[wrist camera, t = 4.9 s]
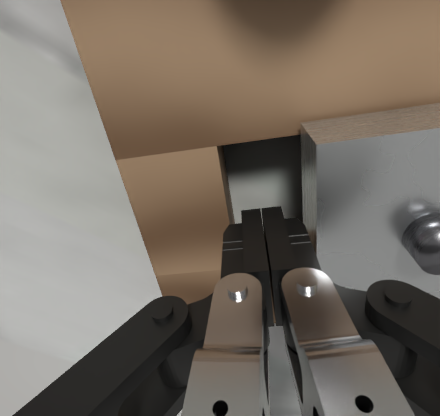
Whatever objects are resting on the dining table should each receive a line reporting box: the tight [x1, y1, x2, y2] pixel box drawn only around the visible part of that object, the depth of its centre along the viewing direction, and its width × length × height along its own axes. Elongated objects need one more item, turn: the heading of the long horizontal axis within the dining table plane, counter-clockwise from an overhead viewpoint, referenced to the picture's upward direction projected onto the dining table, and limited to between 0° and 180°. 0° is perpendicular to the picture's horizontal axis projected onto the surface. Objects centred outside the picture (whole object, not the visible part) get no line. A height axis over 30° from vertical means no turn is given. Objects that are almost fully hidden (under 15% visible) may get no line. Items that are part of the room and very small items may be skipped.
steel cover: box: [300, 103, 440, 299], centre depth 10 cm, size 7×7×3 cm
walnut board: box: [60, 0, 440, 323], centre depth 11 cm, size 22×22×2 cm
